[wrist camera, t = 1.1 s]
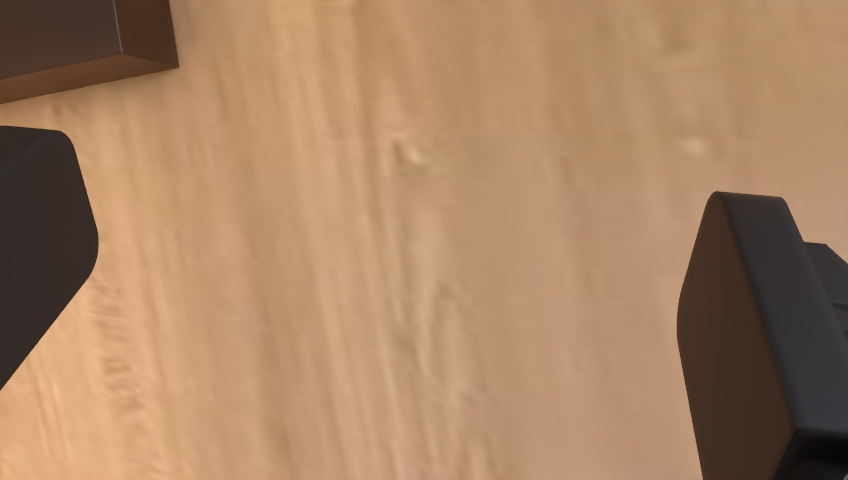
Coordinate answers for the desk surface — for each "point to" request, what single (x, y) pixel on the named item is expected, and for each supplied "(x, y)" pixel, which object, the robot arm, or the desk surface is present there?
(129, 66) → the walnut stand
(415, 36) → the desk surface
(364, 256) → the desk surface
